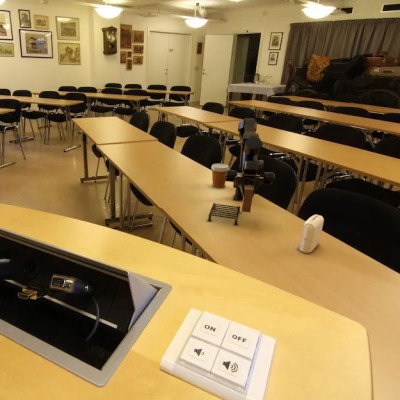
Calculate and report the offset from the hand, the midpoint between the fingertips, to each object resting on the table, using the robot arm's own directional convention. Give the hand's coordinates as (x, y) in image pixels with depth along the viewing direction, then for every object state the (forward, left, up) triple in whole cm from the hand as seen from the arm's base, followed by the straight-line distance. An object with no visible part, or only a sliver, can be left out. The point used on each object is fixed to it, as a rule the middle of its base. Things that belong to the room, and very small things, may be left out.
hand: (248, 196), depth 128 cm
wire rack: (-7, -9, -14) cm, 18 cm away
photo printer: (+9, +23, -14) cm, 28 cm away
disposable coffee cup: (-45, -17, -14) cm, 50 cm away
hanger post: (-1, 0, -7) cm, 7 cm away
